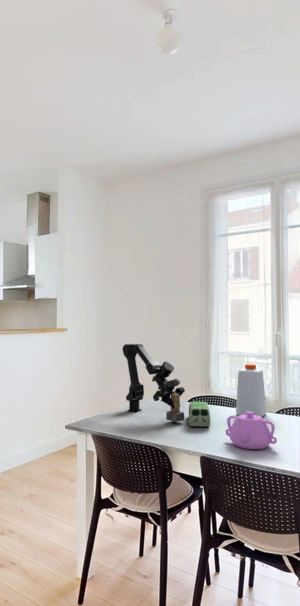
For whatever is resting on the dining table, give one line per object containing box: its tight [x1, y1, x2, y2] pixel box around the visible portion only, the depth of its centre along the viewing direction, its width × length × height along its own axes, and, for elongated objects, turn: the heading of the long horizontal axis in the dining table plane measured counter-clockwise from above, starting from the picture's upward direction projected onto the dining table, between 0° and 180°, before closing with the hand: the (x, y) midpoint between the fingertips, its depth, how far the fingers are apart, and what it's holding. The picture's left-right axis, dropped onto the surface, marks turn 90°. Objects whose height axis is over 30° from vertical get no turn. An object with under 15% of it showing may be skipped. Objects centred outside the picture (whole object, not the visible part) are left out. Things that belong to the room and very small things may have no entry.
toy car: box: [188, 401, 211, 428], centre depth 195 cm, size 11×25×10 cm, turn 175°
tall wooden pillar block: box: [165, 394, 185, 423], centre depth 194 cm, size 7×6×13 cm
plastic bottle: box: [235, 363, 267, 418], centre depth 213 cm, size 15×15×28 cm
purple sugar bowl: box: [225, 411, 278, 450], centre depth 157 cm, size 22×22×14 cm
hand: (177, 407), depth 193 cm, fingers closed on tall wooden pillar block, 3 cm apart
